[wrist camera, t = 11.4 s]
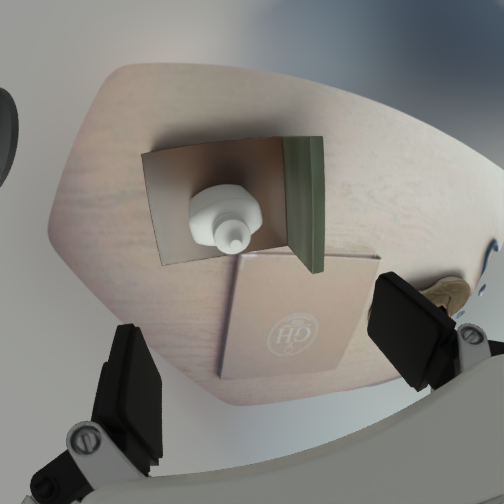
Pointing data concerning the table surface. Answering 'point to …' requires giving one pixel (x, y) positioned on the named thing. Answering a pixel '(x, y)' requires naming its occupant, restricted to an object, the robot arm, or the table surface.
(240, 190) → the eye dropper bottle
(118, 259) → the table surface
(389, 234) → the table surface
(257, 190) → the shelf
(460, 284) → the slip on shoe
